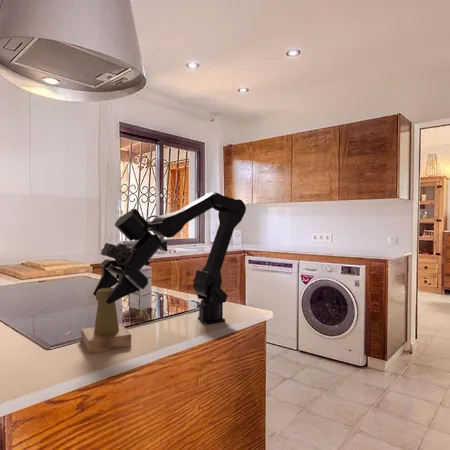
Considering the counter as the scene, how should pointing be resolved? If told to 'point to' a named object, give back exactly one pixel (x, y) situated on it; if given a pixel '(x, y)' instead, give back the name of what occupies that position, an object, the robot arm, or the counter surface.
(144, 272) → the syrup box
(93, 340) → the plinth
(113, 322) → the olive pepper mill
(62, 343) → the counter surface
